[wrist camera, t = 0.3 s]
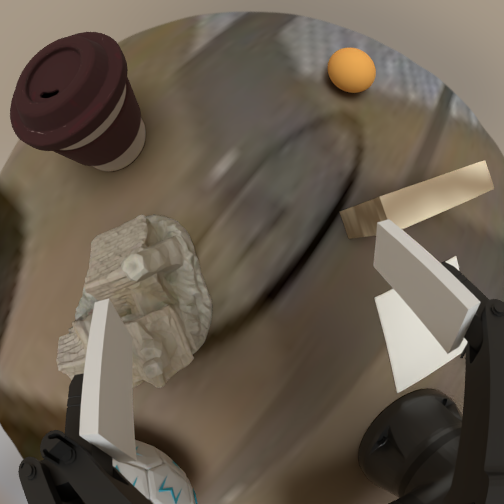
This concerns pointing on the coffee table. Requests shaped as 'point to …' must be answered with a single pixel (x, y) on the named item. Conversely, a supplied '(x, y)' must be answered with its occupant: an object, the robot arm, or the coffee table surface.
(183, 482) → the puzzle ball
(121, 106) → the coffee cup
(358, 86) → the ball
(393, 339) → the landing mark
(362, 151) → the coffee table surface
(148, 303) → the ceramic cottage
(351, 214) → the bridge
